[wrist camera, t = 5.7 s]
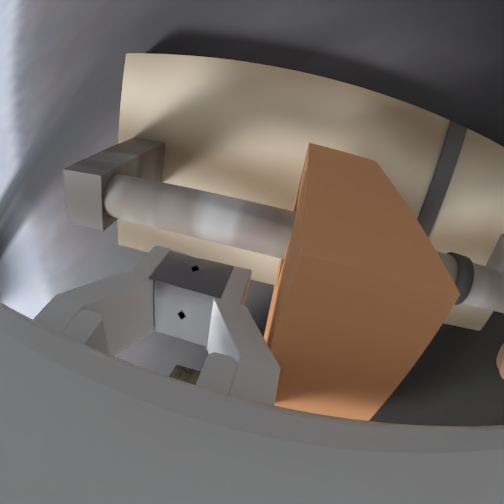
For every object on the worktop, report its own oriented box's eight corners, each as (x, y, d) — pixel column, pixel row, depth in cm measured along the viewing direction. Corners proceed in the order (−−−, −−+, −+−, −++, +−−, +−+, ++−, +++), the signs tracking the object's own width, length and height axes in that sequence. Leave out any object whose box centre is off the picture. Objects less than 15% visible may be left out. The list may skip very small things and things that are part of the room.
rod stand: (143, 54, 15) (49, 53, 9) (540, 170, 14) (616, 223, 7) (132, 230, 22) (65, 299, 15) (471, 313, 20) (506, 395, 13)
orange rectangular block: (279, 260, 16) (242, 432, 8) (309, 142, 13) (301, 253, 5) (337, 274, 16) (341, 449, 8) (375, 161, 13) (460, 294, 5)
